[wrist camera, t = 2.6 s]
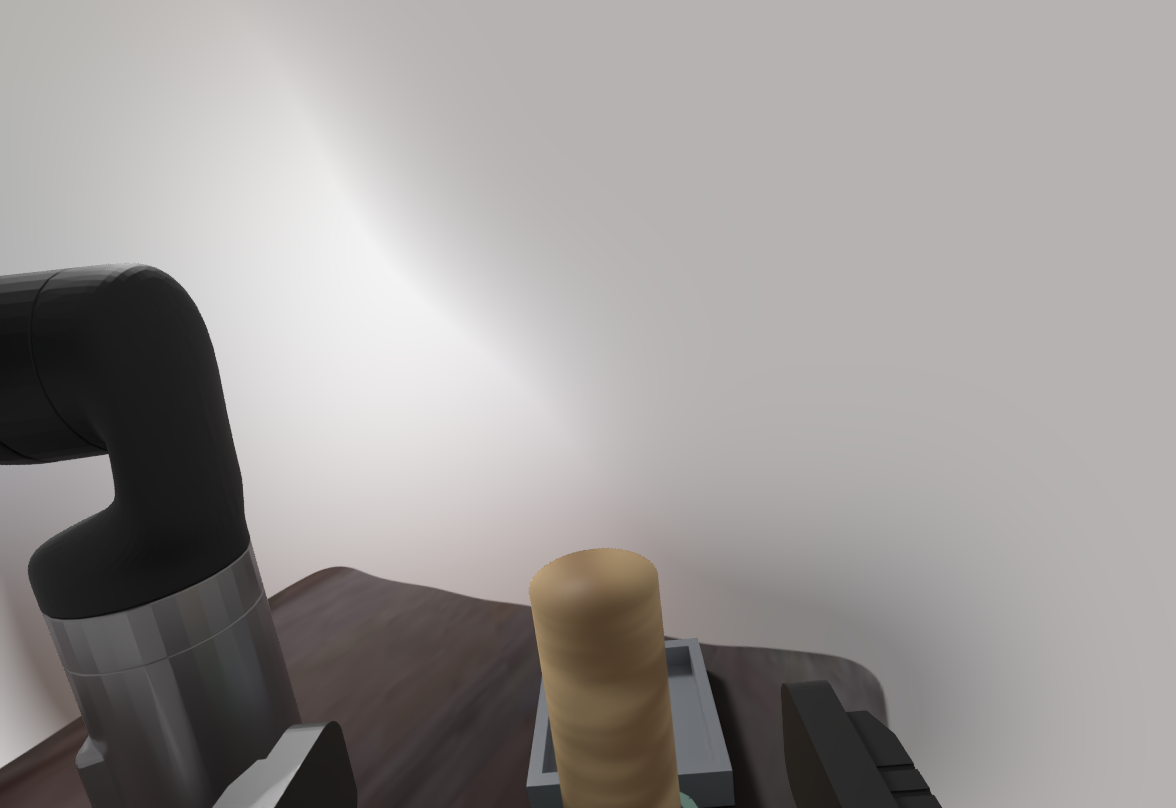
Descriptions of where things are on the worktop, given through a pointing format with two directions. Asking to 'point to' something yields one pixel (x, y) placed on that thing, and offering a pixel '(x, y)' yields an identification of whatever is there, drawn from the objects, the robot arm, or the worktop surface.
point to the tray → (694, 737)
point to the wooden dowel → (606, 679)
